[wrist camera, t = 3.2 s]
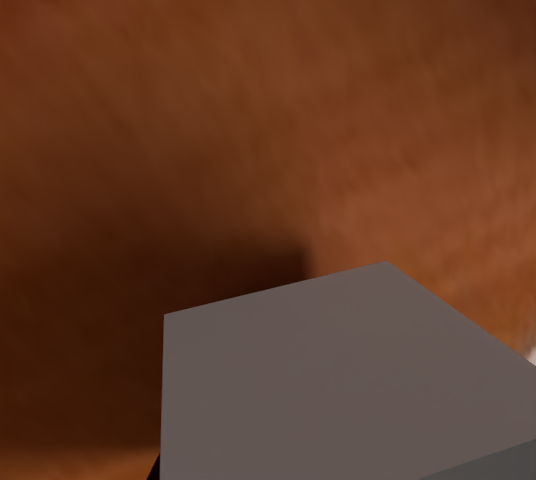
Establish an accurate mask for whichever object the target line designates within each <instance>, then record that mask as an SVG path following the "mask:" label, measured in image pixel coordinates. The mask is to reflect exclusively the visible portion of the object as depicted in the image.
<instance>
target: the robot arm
mask: <svg viewBox="0 0 536 480" xmlns="http://www.w3.org/2000/svg"><path fill="white" fill-rule="evenodd" d="M160 452H161V451H160ZM146 480H160V453H159V455H158V457H157V459H156V461H155V463H154V465H153V467H152V469H151V471H150V473H149V475H148V477H147V479H146Z"/></svg>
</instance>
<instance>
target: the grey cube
mask: <svg viewBox="0 0 536 480" xmlns="http://www.w3.org/2000/svg"><path fill="white" fill-rule="evenodd" d="M160 480H536V366H535V365H533V364H532V363H530V362H529V361H528V360H526V359H525V358H523V357H522V356H521V355H519V354H518V353H516V352H515V351H514V350H512V349H511V348H509V347H508V346H507V345H505V344H504V343H502V342H501V341H499V340H498V339H497V338H495V337H494V336H492V335H491V334H490V333H488V332H487V331H485V330H484V329H483V328H481V327H480V326H478V325H477V324H476V323H474V322H473V321H471V320H470V319H469V318H467V317H466V316H464V315H463V314H461V313H460V312H459V311H457V310H456V309H454V308H453V307H452V306H450V305H449V304H447V303H446V302H445V301H443V300H442V299H440V298H439V297H438V296H436V295H435V294H433V293H432V292H430V291H429V290H428V289H426V288H425V287H423V286H422V285H421V284H419V283H418V282H416V281H415V280H414V279H412V278H411V277H409V276H408V275H407V274H405V273H404V272H402V271H401V270H399V269H398V268H397V267H395V266H394V265H392V264H391V263H390V262H388V261H383V262H379V263H375V264H370V265H366V266H362V267H358V268H354V269H350V270H346V271H341V272H337V273H333V274H329V275H325V276H321V277H317V278H313V279H308V280H304V281H300V282H296V283H292V284H288V285H284V286H279V287H275V288H271V289H267V290H263V291H259V292H255V293H251V294H246V295H242V296H238V297H234V298H230V299H226V300H222V301H217V302H213V303H209V304H205V305H201V306H197V307H193V308H189V309H184V310H180V311H176V312H172V313H168V314H164V337H163V375H162V413H161V452H160Z"/></svg>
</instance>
